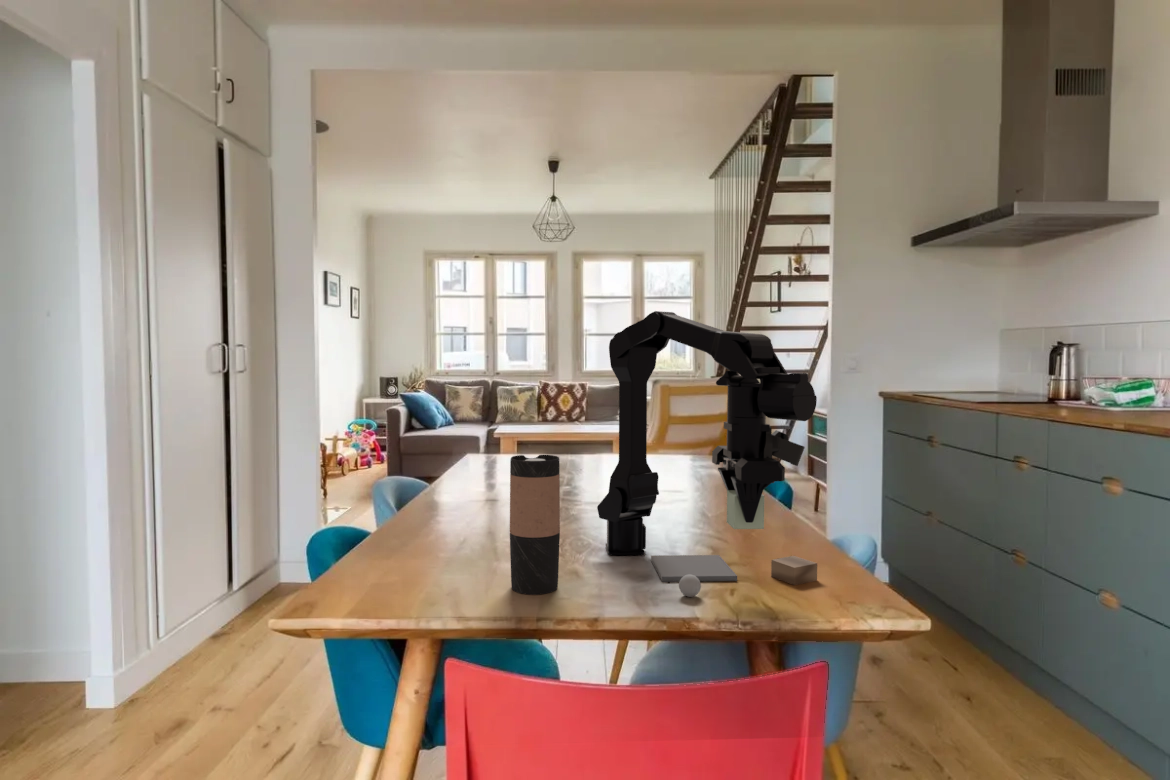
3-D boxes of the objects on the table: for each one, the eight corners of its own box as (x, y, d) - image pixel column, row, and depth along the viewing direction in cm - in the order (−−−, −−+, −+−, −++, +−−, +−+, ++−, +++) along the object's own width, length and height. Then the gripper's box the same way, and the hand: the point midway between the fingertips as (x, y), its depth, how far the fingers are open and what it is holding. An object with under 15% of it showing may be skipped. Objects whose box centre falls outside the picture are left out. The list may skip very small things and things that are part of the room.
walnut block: (794, 586, 111) (794, 567, 111) (771, 578, 116) (771, 559, 116) (817, 581, 114) (817, 563, 114) (793, 573, 118) (793, 555, 118)
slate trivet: (662, 581, 113) (662, 576, 113) (651, 560, 125) (651, 555, 124) (737, 580, 113) (737, 575, 113) (719, 559, 125) (719, 554, 125)
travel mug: (540, 598, 104) (540, 462, 103) (499, 589, 108) (499, 458, 107) (569, 584, 111) (569, 456, 110) (529, 576, 115) (529, 452, 114)
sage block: (734, 529, 106) (734, 495, 106) (726, 522, 111) (727, 490, 111) (763, 528, 107) (764, 495, 106) (755, 522, 111) (755, 490, 111)
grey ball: (681, 600, 104) (681, 578, 104) (677, 592, 107) (677, 571, 107) (702, 599, 104) (703, 578, 104) (698, 592, 107) (698, 571, 107)
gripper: (822, 422, 99) (819, 533, 100) (778, 411, 118) (777, 505, 119) (743, 422, 99) (741, 534, 99) (712, 411, 117) (710, 506, 118)
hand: (744, 518), depth 109 cm, fingers closed on sage block, 4 cm apart
